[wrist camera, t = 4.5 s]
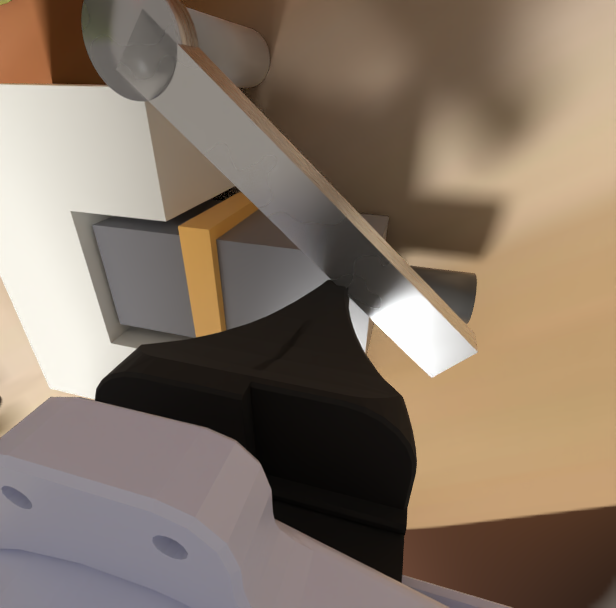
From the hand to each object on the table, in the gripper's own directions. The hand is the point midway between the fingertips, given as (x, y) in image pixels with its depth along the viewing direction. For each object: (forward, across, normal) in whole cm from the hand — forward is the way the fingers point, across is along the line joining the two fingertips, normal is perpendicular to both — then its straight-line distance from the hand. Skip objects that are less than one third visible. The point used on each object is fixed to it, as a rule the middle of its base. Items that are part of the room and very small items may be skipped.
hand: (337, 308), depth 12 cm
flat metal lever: (0, +1, -4) cm, 4 cm away
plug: (+6, +3, +1) cm, 7 cm away
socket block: (+6, +10, 0) cm, 12 cm away
